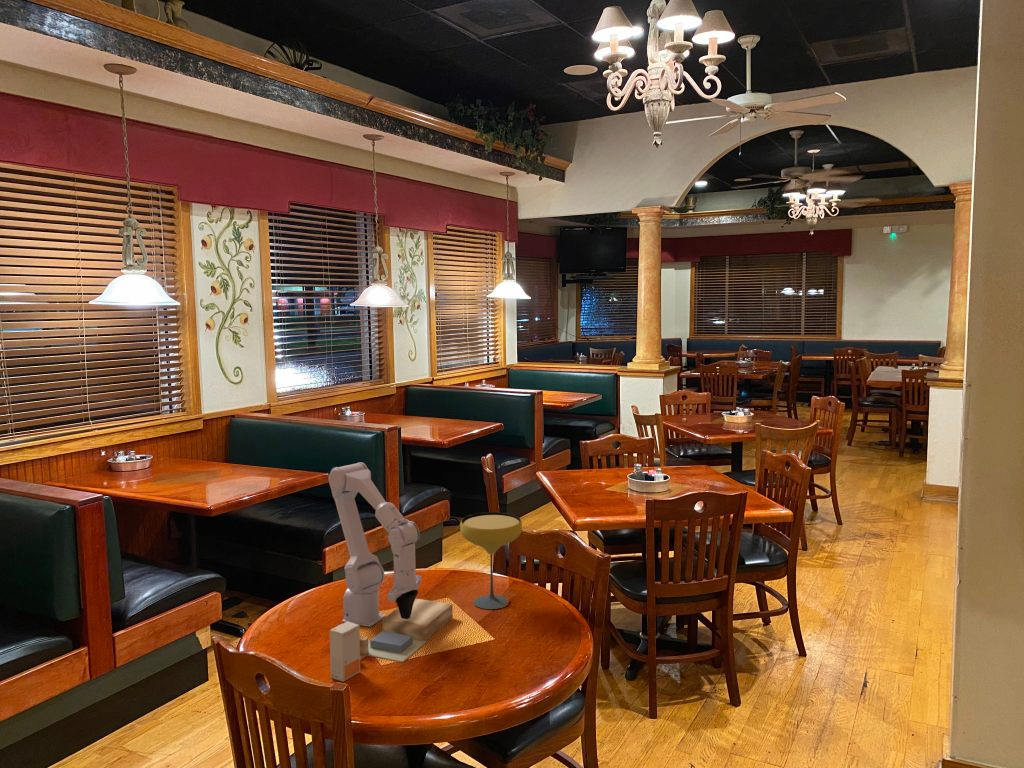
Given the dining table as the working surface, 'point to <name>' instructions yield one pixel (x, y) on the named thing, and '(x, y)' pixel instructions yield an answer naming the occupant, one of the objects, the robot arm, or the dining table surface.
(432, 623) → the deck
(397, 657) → the mat
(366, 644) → the oak rack
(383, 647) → the blue-grey rectangular block
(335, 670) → the skincare box
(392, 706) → the dining table surface
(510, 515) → the cocktail glass
